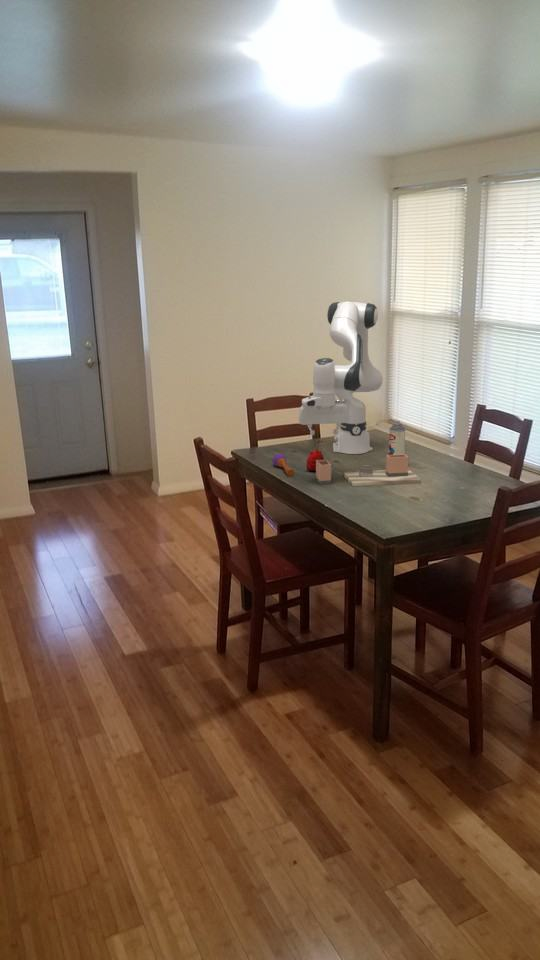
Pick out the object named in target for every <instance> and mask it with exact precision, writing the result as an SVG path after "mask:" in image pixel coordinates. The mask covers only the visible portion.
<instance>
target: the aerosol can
mask: <svg viewBox="0 0 540 960" xmlns="http://www.w3.org/2000/svg"><path fill="white" fill-rule="evenodd" d="M388 432H389V434H388V436H389V437H388V440H389V441H388V455H400V454H406V452H405V450H406V449H405V446H406V427H404V426H403V424H401V422H400V420H395V423H393V424H392V426H390V427H389V431H388Z"/></svg>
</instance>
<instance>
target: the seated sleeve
mask: <svg viewBox="0 0 540 960" xmlns="http://www.w3.org/2000/svg"><path fill="white" fill-rule="evenodd" d="M385 457H386V458H385V470H386V475H387V476H388V477H397V476H408V469H409V459H410V458H409V456H408V455H407V454H406V453H404V454H400V455H389V454H386V455H385Z"/></svg>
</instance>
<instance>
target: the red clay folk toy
mask: <svg viewBox="0 0 540 960" xmlns="http://www.w3.org/2000/svg"><path fill="white" fill-rule="evenodd" d="M315 440H316V441H317V443H316V444H317V445H316V446H315V447H316V449H315V450H311V451H309V452H310V453H309V455H308V456H307V457H306V458H307V459H306V470H307V471H310V472H311V471H316V460H325V459H324V455H323V453H322V450H321V449H319V443H323V442H324V441H323V440H320V438H318V439H317V438H316V439H315Z"/></svg>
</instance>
